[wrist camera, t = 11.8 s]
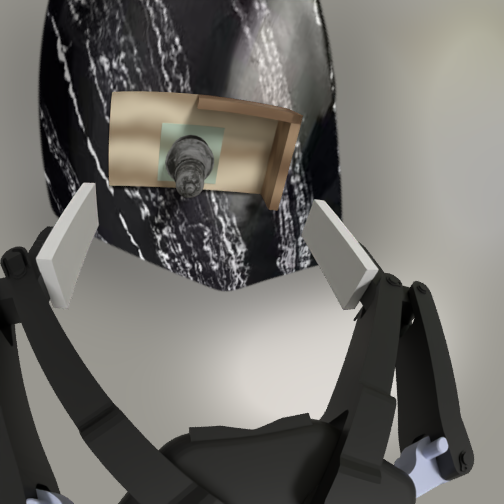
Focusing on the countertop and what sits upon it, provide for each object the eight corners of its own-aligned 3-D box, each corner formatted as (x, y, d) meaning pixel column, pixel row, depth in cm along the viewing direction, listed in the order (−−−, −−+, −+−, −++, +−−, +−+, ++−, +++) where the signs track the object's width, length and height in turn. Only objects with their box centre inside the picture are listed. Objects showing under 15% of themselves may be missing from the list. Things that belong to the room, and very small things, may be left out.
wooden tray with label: (113, 91, 27) (101, 96, 22) (287, 108, 33) (302, 115, 29) (110, 183, 34) (100, 200, 30) (267, 192, 41) (277, 210, 36)
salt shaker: (221, 154, 35) (234, 192, 25) (188, 182, 36) (189, 230, 27) (191, 123, 31) (192, 148, 22) (158, 154, 33) (145, 192, 23)
